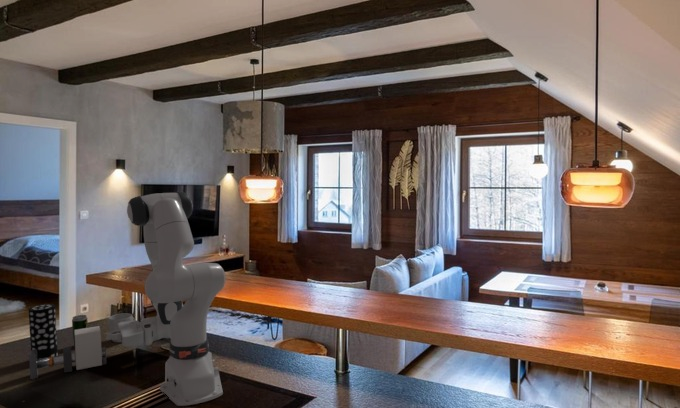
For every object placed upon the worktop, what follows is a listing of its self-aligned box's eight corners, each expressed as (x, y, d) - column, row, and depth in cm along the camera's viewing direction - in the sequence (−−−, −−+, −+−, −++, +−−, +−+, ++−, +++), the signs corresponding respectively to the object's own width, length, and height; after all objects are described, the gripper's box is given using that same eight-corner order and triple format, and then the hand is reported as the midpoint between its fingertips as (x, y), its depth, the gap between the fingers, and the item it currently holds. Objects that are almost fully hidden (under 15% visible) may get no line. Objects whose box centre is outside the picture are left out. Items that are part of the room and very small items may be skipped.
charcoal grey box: (72, 364, 168) (71, 345, 167) (72, 371, 162) (71, 351, 161) (64, 365, 167) (63, 346, 166) (64, 372, 161) (63, 352, 160)
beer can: (73, 349, 183) (72, 319, 183) (72, 345, 188) (71, 316, 187) (89, 346, 186) (87, 317, 186) (87, 342, 191) (86, 313, 190)
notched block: (101, 359, 172) (99, 325, 171) (102, 365, 167) (100, 330, 166) (76, 363, 168) (74, 329, 167) (76, 370, 163) (74, 335, 162)
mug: (123, 344, 188) (122, 320, 187) (104, 343, 190) (103, 319, 189) (143, 334, 200) (142, 311, 200) (125, 332, 202) (124, 310, 202)
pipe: (105, 360, 172) (104, 337, 172) (106, 364, 168) (105, 341, 168) (31, 374, 161) (30, 350, 160) (30, 379, 157) (29, 355, 156)
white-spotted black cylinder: (42, 365, 168) (39, 311, 167) (26, 362, 171) (22, 309, 169) (63, 357, 176) (60, 305, 175) (46, 354, 179) (43, 303, 177)
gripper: (142, 314, 186) (103, 320, 179) (150, 329, 168) (107, 336, 161) (143, 330, 186) (104, 336, 179) (151, 346, 168) (108, 354, 161)
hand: (106, 336), depth 170 cm, fingers closed
